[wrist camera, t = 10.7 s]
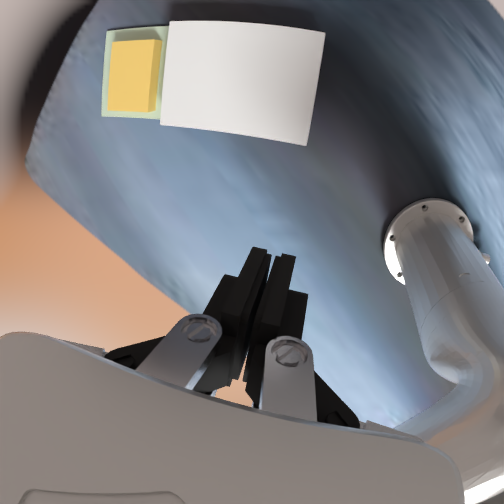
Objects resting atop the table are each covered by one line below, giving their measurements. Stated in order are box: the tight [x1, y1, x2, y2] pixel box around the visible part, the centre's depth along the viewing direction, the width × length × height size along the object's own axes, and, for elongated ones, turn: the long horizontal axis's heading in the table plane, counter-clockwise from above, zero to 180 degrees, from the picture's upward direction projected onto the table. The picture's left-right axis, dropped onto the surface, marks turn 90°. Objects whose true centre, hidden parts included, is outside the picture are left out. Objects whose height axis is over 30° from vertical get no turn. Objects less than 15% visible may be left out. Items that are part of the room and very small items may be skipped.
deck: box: [160, 21, 325, 146], centre depth 31 cm, size 16×12×4 cm
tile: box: [107, 39, 162, 113], centre depth 33 cm, size 6×9×2 cm, turn 173°
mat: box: [101, 26, 169, 119], centre depth 34 cm, size 11×12×1 cm
